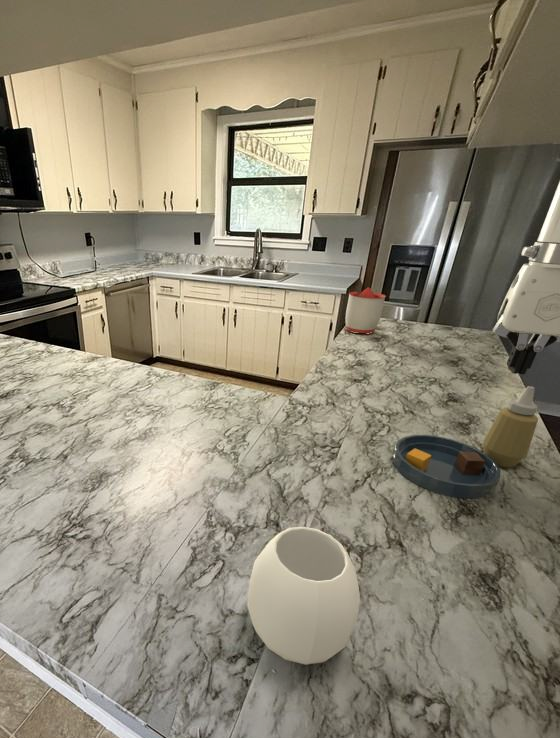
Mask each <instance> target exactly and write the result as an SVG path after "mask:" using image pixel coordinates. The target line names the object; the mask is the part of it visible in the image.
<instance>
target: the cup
mask: <svg viewBox="0 0 560 738" xmlns="http://www.w3.org/2000/svg"><path fill="white" fill-rule="evenodd" d="M360 605H361V593H360V586H359V580H358V576H357V572H356V568H355V566H354V564H353V561H352V560H351V557H350V555H349V553H348V552H347V550H346V549H345V547H344V546H343V544H342V543H341V542H340V541H339V540H337V539H336V538H335V537H334V536H333V535H331V534H329V533H327V532H325V531H323V530H320V529H318V528H314V527H307V526H295V527H289V528H287V529H285V530H283V531H280V532H279V533H277V534H276V535H275V536H274V537H272V538H271V540H269V542H268V543H267V544H266V546H265V547H264V548H263V550H261V552H260V553H259V555H257V557H256V559H254V562H253V567H252V570H251V574H250V579H249V585H248V592H247V610H248V613H249V616H250V621H251V623H252V626H253V628H254V630H255V633H256V634H257V636H258V637H259V638H260V640H261V641H262V642H263V643H264V645H265V646H266V648H267V649H268V650H270V651H272V652H273V653H275V654H276V655H277V656H278V657H281V658H282V659H284V660H285V661H288V662H293V663H298V664H301V665H307V666H308V665H312V664H313V665H314V664H320V663H325V662H326V661H327V660H329V659H331V658H332V657H334V656H335V655H337V654H338V653H339V652H341V650H343V649H344V648H346V647H347V645H348V642H349V640H350V638H351V636H352V633H353V631H354V628H355V625H356V623H357V620H358V617H359V611H360Z"/></svg>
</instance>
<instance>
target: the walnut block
mask: <svg viewBox="0 0 560 738" xmlns="http://www.w3.org/2000/svg"><path fill="white" fill-rule="evenodd" d="M484 463H485V461H484V460H483V459H482V458H481V457H480V456H479V455H478V454H477V453H476V452H459V454H458V456H457V459H456V462H455V464H454V465H455V466H456V468H457V469H458V470H459V471H460V472H461V473H462V474H466V475H480V473H481V471H482V468H483V466H484Z"/></svg>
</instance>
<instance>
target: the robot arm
mask: <svg viewBox="0 0 560 738" xmlns="http://www.w3.org/2000/svg"><path fill="white" fill-rule="evenodd" d="M521 256H522V257H527V258H528V263H523V265H522V266H521V268H520V269H519V271H518V272H517V274H516V276H515V277H514V279H513V280H512V283H511V284H510V287H509V289H508V290H507V293H506V295H505V297H504V299H503V301H502V304H501V306H500V309H499V311H498V314H497V318H496V321H497V322H496V323H495V325H494V327H493V328H492V330H491V331H492V333H493V334H495V335H497V336H499V337H502V338H505V339H507V340H508V341H509V343H510V345H512V348H511V351H510V353H509V355H508V358H507V361H506V366H507V369H508V370H509V372H511V373H512V374H515V375H517V374H519V375H526V373H527V371H528V370H529V369H531V368H532V365H533V364H534V361H535V358H536V356H537V353H540V352H542V351H543V350H544V349H545V348H546V347H548V346H550V345H552V344H554V343H560V180H559V182H558V185H557V186H556V189H555V192H554V195H553V198H552V201H551V202H550V206H549V209H548V211H547V214H546V216H545V219H544V222H543V224H542V227H541V229H540V232H539V235H538V237H537V240H536V241H535V242H534V244H533V245H530V246H524V247H523V248H522V251H521ZM529 334H532V335H531V336H530V339H528V338H529Z"/></svg>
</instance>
